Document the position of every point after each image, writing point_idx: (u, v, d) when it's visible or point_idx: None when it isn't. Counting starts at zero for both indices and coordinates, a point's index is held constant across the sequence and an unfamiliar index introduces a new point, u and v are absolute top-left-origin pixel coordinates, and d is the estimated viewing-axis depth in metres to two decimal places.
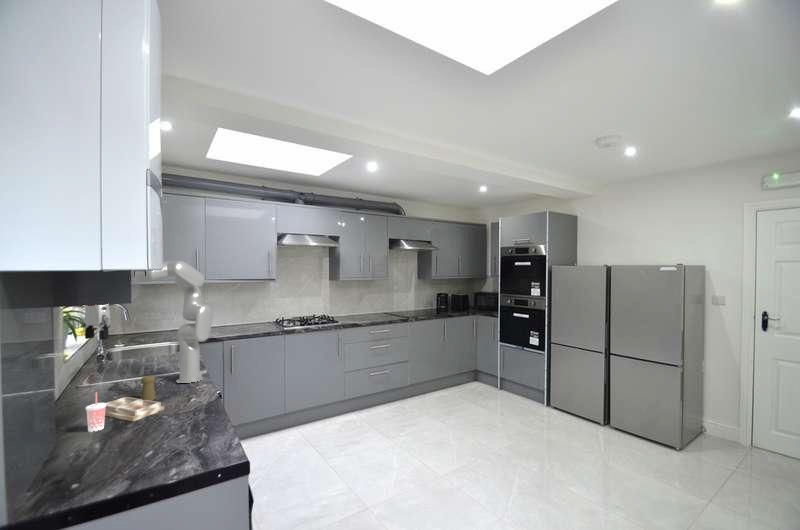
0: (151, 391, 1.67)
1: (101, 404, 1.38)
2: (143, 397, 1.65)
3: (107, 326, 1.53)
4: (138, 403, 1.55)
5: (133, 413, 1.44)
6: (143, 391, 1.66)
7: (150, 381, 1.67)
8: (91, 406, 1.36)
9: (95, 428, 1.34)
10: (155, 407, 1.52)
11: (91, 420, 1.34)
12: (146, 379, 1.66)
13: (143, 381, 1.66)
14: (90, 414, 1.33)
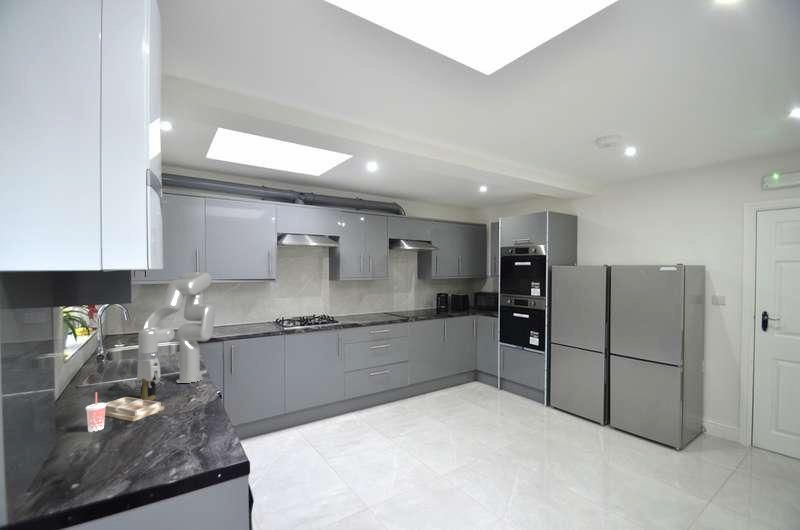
0: None
1: (101, 404, 1.38)
2: (143, 397, 1.65)
3: (155, 384, 1.66)
4: (138, 403, 1.55)
5: (133, 413, 1.44)
6: (143, 391, 1.66)
7: None
8: (91, 406, 1.36)
9: (95, 428, 1.34)
10: (155, 407, 1.52)
11: (91, 420, 1.34)
12: None
13: (143, 381, 1.66)
14: (90, 414, 1.33)
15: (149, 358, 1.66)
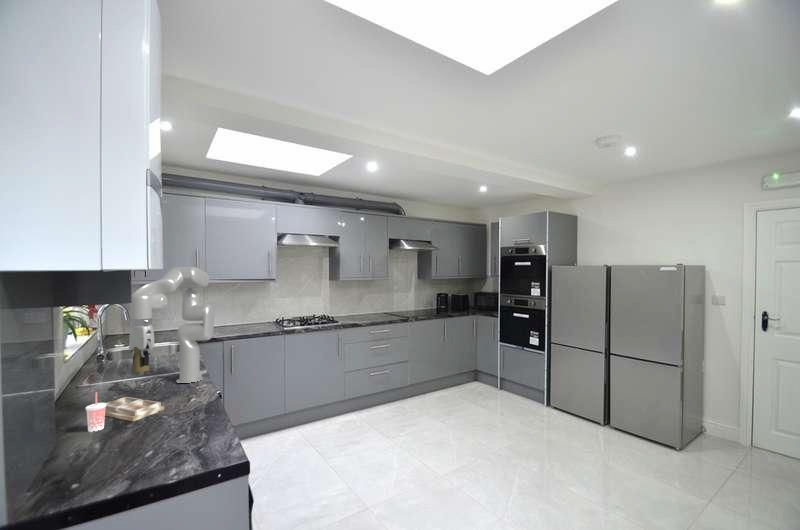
0: None
1: (101, 404, 1.38)
2: (135, 367, 1.51)
3: (148, 353, 1.52)
4: (138, 403, 1.55)
5: (133, 413, 1.44)
6: (135, 361, 1.51)
7: None
8: (91, 406, 1.36)
9: (95, 428, 1.34)
10: (155, 407, 1.52)
11: (91, 420, 1.34)
12: None
13: (135, 350, 1.52)
14: (90, 414, 1.33)
15: (142, 325, 1.52)
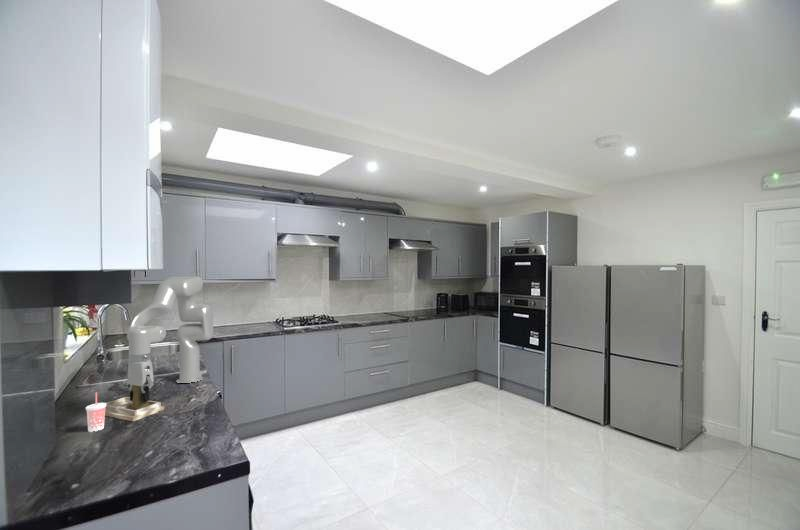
0: None
1: (101, 404, 1.38)
2: (134, 407, 1.48)
3: (149, 388, 1.49)
4: None
5: (133, 413, 1.44)
6: (134, 400, 1.49)
7: None
8: (91, 406, 1.36)
9: (95, 428, 1.34)
10: (155, 407, 1.52)
11: (91, 420, 1.34)
12: (137, 387, 1.49)
13: (133, 389, 1.49)
14: (90, 414, 1.33)
15: (140, 360, 1.49)
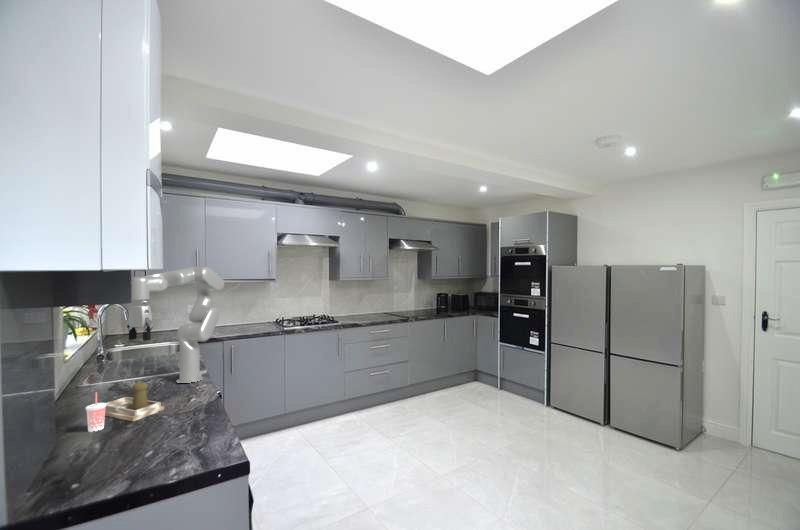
0: (143, 399, 1.50)
1: (101, 404, 1.38)
2: (134, 407, 1.48)
3: (150, 328, 1.65)
4: None
5: (133, 413, 1.44)
6: (134, 400, 1.49)
7: (142, 389, 1.50)
8: (91, 406, 1.36)
9: (95, 428, 1.34)
10: (155, 407, 1.52)
11: (91, 420, 1.34)
12: (137, 387, 1.49)
13: (134, 389, 1.49)
14: (90, 414, 1.33)
15: (140, 304, 1.66)
